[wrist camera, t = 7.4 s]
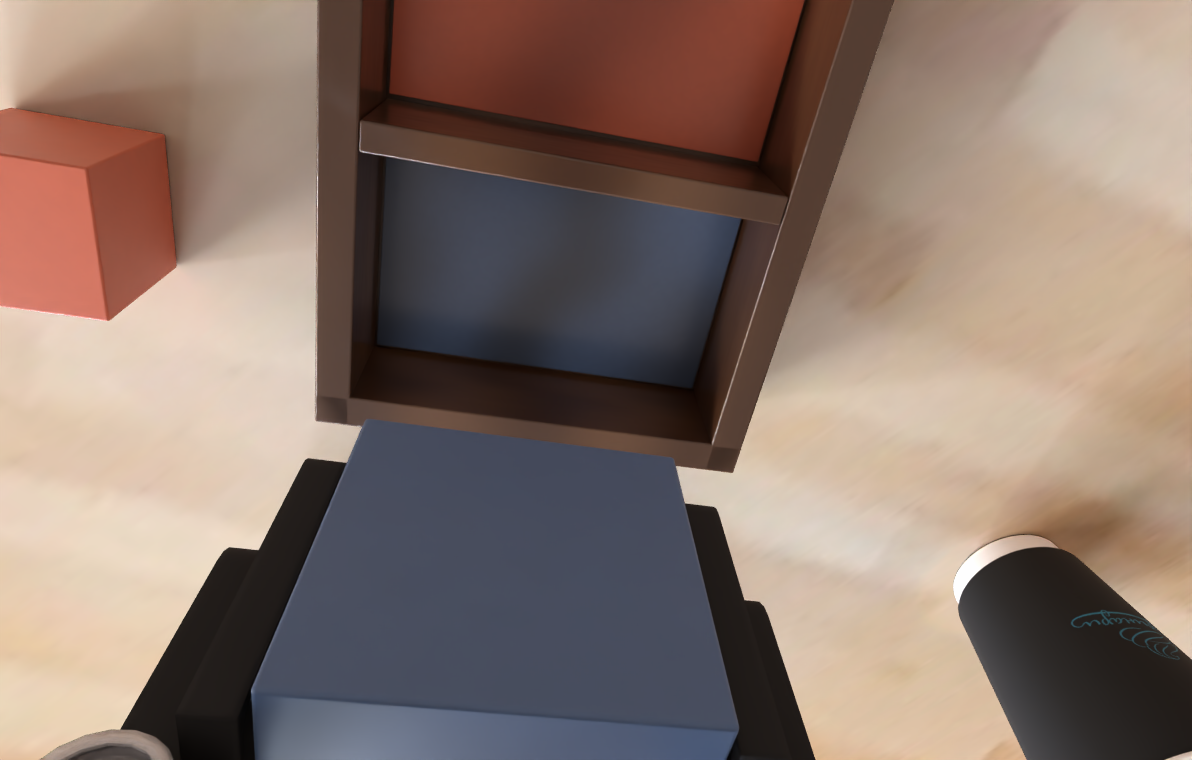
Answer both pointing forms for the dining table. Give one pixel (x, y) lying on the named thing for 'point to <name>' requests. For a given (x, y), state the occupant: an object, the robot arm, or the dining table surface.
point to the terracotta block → (81, 214)
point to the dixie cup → (1073, 657)
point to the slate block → (496, 611)
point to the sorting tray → (573, 209)
